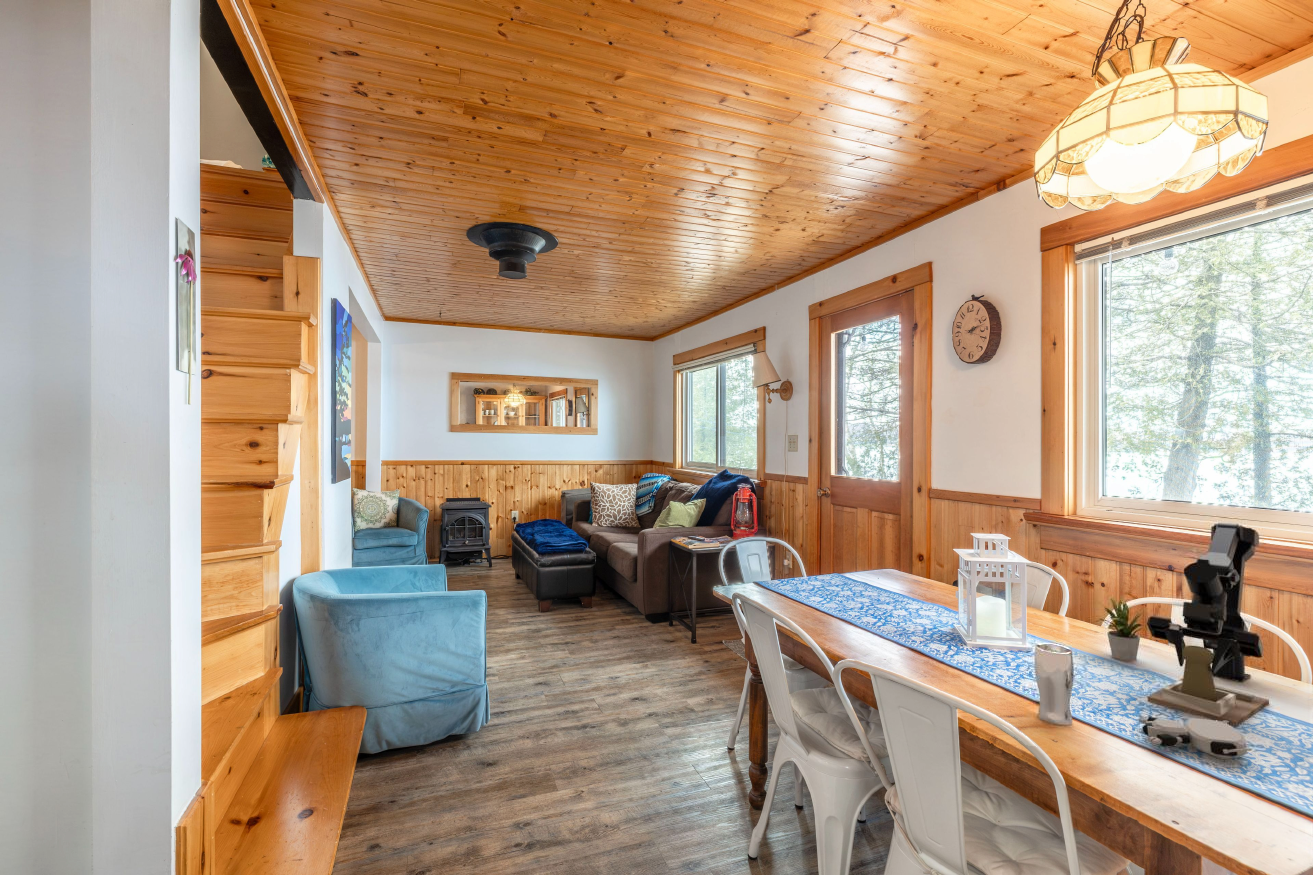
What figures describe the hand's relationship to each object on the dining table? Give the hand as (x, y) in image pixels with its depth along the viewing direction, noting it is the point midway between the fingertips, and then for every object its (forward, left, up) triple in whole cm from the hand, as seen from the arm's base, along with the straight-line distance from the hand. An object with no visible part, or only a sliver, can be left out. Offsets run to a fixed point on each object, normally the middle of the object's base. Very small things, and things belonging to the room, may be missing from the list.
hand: (1196, 668), depth 131 cm
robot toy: (+22, +6, -9) cm, 24 cm away
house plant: (-24, -24, -9) cm, 35 cm away
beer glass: (+31, -14, -9) cm, 35 cm away
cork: (-1, 0, -7) cm, 7 cm away
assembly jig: (-6, 0, -9) cm, 11 cm away
